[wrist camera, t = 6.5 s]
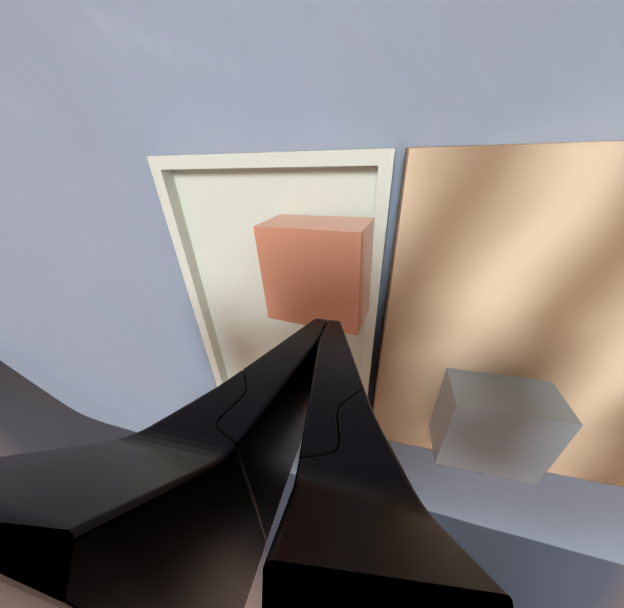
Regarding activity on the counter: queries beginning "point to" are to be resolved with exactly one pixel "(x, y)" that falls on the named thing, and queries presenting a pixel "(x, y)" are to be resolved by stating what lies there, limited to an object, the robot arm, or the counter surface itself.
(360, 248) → the terracotta block
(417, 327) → the birch board
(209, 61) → the counter surface
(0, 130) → the counter surface
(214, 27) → the counter surface
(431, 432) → the grey box
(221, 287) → the tray
